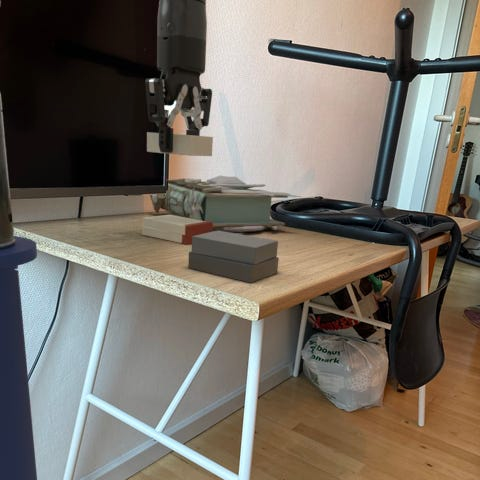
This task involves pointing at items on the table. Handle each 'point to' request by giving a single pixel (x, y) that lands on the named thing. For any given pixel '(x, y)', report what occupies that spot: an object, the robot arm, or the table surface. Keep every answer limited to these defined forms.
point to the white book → (183, 144)
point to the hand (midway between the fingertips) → (179, 152)
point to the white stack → (175, 228)
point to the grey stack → (234, 255)
